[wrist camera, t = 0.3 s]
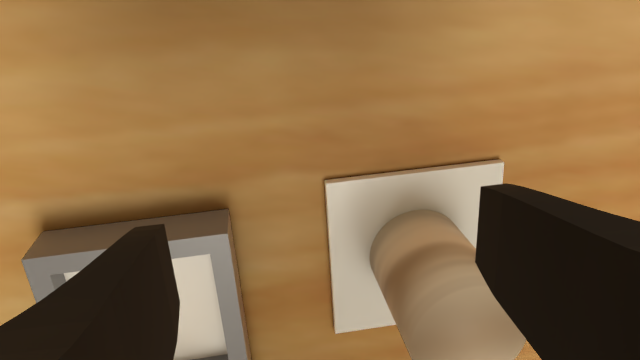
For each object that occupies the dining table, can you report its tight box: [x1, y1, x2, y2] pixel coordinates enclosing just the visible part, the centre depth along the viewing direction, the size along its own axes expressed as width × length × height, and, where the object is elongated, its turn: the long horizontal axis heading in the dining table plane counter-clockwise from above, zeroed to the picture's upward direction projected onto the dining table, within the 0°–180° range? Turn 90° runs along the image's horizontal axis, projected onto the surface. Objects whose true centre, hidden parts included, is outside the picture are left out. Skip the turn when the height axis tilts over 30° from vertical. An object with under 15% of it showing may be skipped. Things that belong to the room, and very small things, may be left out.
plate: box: [324, 159, 504, 334], centre depth 23 cm, size 8×8×1 cm
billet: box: [370, 210, 526, 360], centre depth 21 cm, size 4×4×6 cm
